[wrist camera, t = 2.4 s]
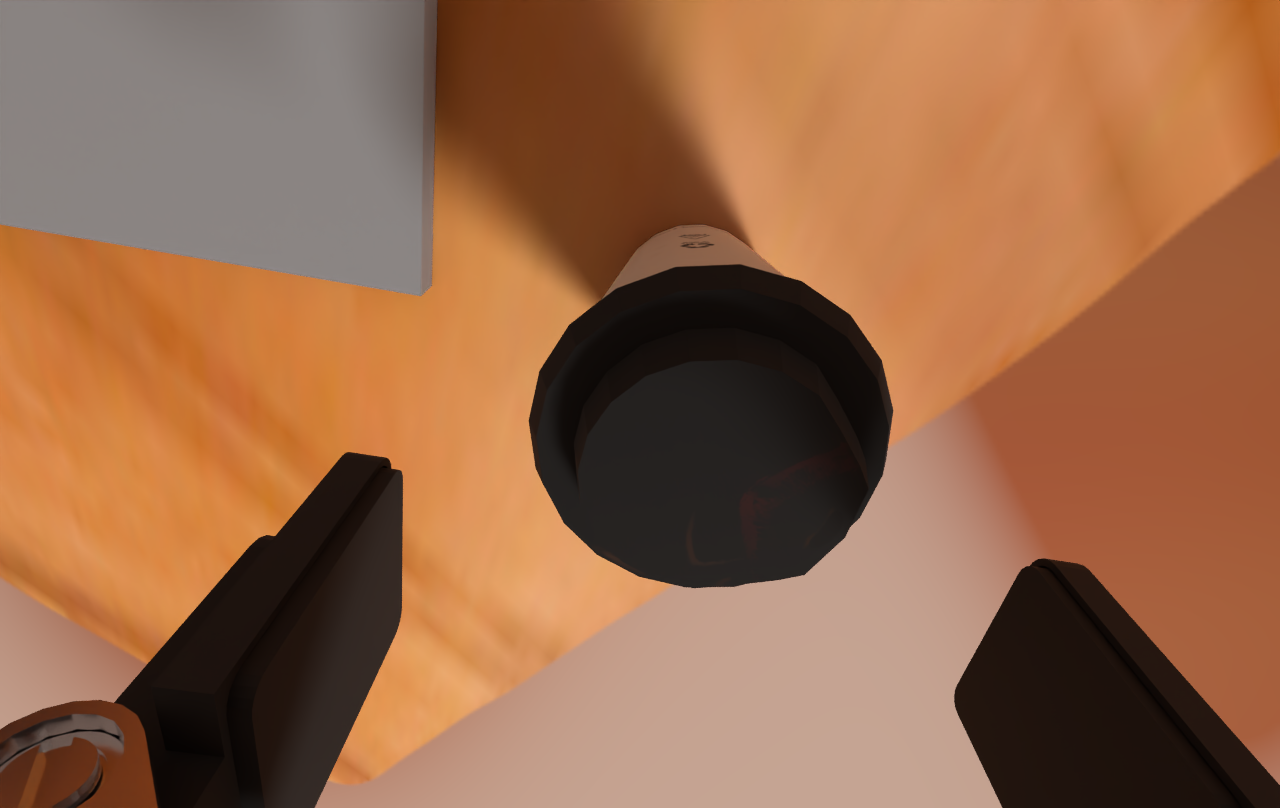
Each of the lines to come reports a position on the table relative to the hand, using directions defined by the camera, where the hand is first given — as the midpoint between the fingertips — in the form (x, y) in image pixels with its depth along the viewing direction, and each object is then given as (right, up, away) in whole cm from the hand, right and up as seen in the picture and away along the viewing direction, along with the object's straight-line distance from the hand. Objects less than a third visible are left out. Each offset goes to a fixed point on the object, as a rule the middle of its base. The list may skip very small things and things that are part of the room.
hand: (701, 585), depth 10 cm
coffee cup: (+1, +6, +10) cm, 12 cm away
